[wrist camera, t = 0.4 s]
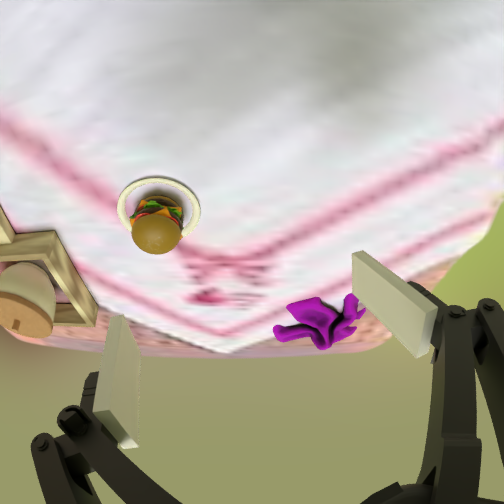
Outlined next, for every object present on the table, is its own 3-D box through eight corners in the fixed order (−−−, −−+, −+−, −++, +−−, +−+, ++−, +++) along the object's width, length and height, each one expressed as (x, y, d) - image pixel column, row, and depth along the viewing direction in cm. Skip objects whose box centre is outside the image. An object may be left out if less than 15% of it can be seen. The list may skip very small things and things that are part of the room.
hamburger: (138, 137, 26) (125, 171, 22) (238, 196, 33) (242, 234, 29) (90, 217, 32) (77, 253, 29) (176, 257, 39) (173, 294, 35)
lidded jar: (32, 242, 33) (9, 304, 27) (77, 289, 41) (64, 346, 35) (-10, 259, 34) (-31, 313, 28) (32, 299, 42) (19, 349, 36)
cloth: (341, 340, 65) (348, 366, 61) (259, 342, 60) (262, 371, 56) (399, 280, 48) (411, 311, 44) (298, 274, 44) (307, 312, 40)
